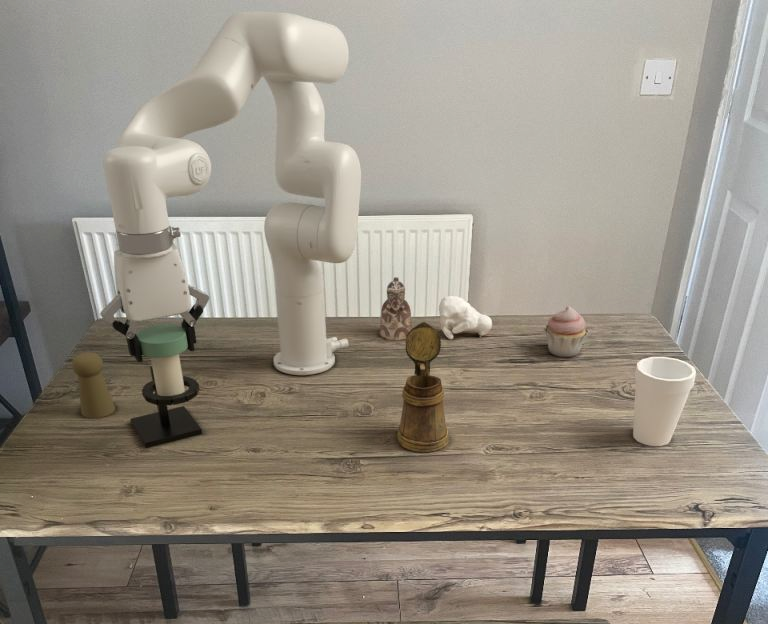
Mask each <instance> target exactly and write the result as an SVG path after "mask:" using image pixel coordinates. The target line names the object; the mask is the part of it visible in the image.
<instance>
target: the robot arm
mask: <svg viewBox="0 0 768 624" xmlns="http://www.w3.org/2000/svg"><path fill="white" fill-rule="evenodd" d="M349 61H350V50H349V45H348V41H347V39H346V37H345V34H344V33H343V32H342V30H341V29H340V28H339V27H337V26H336V25H334V24H332V23H329V22H324V21H322V20H316V19H314V18H309V17H307V16H303V15H300V14H295V13H291V12H282V11H255V10H254V11H252V10H251V11H250V10H249V11H248V10H246V11H238V12H235V13H234V14H231V15H230V16H229V17H228V18H227V19H226V20H225V22H224V23H223V25H222V26H221V27H220V29H219V31H218V32H217V34H216V35H215V37H214V38H213V40H212V41H211V43H210V44H209V46H208V48H207V49H206V51H205V52H204V54H203V55H202V57H201V58H200V60H199V61H198V62H197V64H196V66H195V67H194V69H193V70H192V72H191V73H190V74H188V75H187V76H186V77H184V78H182V79H180V80H179V81H176V82H175V83H173V84H172V85H170V86H169V87H167V88H166V89H164V90H163V91H161V92H159V93H158V94H157V95H155V96H153V97H152V98H150V99H149V100H148V101H147V102H145V103H144V104H143V105H142V106H141V107H140V108H139V109H138V110H137V111H136V112H135V114H134V115H133V116H132V118H131V120H130V121H129V122H128V124H127V125H126V127H125V128H124V130H123V132H122V133H121V135H120V137H119V139H118V141H117V144H116V147H115V148H111V149H109V150H107V151H106V152H105V154H103V158H102V164H103V165H102V166H103V172H104V176H105V177H104V178H105V181H106V186H107V192H108V197H109V202H110V207H111V212H112V217H113V223H114V228H115V233H116V238H117V243H118V249H117V250H115V251H113V268H114V280H115V288H116V296H114V298H113V299H112V300H111V301H110V302H108V304H106V306H105V307H104V308H103V309H102V310H100V313H99V316H101V318H102V319H103V321H105V322H106V323H107V324H108V325H110V326H111V327H112V328H113V329H114V330H116V331H117V332H118V333H120V334H121V335H122V336H125V339H126V344H127V347H128V353H129V356H130V357H134V359H135V360H136V361H137V363H142V362H143V361H144V359H143V355H142V353H141V348H140V342H139V338H138V337H137V336H136V334H137V330H138V327H139V325H140V323H141V322H147V321H152V320H157V319H163V318H168V317H173V316H178V315H180V316H181V318H182V321H181V323H180V325H181V326H180V327H182V328H184V329H185V331H186V336H187V342H188V347H187V349H188V351H189V352H195V349H196V348H195V344H197V336H196V330H195V327H196V325H197V322H198V320H199V319H200V318H201V316H202V315H203V313H204V310H205V308H206V306H207V305H208V303H209V300H210V296H209V294H207V293H206V292H204V291H203V290H200V289H198V288H197V287H195V286H194V285H193V286H192V285H191V284H189V283H188V280H187V276H186V271H185V267H184V265H183V261H182V258H181V254H180V252H179V249H178V247H177V245H176V244H175V243H174V239H177V238H179V237H181V230H180V228H179V227H174V226H171V225H170V222H169V221H170V220H169V215H168V208H167V201H166V200H167V199H168V198H175V197H186V196H191V195H194V194H197V193H198V192H200V191H202V190H203V189H204V188H205V187H206V186H207V184H208V183H209V180H210V178H211V174H212V163H211V158H210V157H209V154H208V153H207V151H206V150H205V148H204V147H202V146H201V145H200V144H199V143H197V142H195V141H193V140H190V139H186V138H184V137H185V136H188V135H190V134H193V133H196V132H199V131H204V130H208V129H211V128H215V127H218V126H220V125H223V124H225V123H228V122H230V121H232V120H233V119H235V118H236V117H237V116H238V115H239V114H240V112H241V111H242V109H243V107H244V106H245V104H246V103H247V101H248V99H249V98H250V96H251V94H252V92H253V91H254V90H255V88H256V86H257V85H258V83H259V81H260V80H261V79H262V77H263V79H264V80H265V82H266V83H267V85H268V87H269V89H270V91H271V93H272V96H273V99H274V102H275V107H276V138H275V165H274V166H275V180H276V184H277V185H278V187H279V189H281V190H282V191H283V192H285V193H288V194H290V195H294V196H295V195H296V196H302V197H308V198H316V199H324V203H325V206H320V205H314V204H307V203H299V202H280V203H278V204H276V205H274V206H272V207H271V208H270V209H269V210H268V212H267V214H266V216H265V219H264V225H263V228H264V232H263V233H264V238H265V241H266V246H267V249H268V252H269V256H270V261H271V265H272V270H273V271H272V273H273V281H274V294H275V304H276V316H277V328H278V341H279V351H278V352H277V353H276V354H275V355H274V356H273V360H272V361H273V366H274V368H275V369H276V370H277V371H279V372H282V373H284V374H288V375H292V376H311V375H316V374H320V373H323V372H326V371H329V369H331V368H332V367H333V366H334V365H335V363H336V357H335V354H334V353H335V352H336V351H337V350H343V349H348V348H349V340H348V338H342V339H338V338H337V336H333V337H329V338H328V337H327V326H326V325H327V324H326V304H325V284H324V283H325V282H324V277H323V272H322V269H321V267H320V264H319V263H318V262H322V263H330V264H342V263H345V262H347V261H348V260H349V259H350V258H351V256H352V255H353V253H354V250H355V248H356V244H357V237H358V228H359V214H360V213H359V212H360V201H361V190H362V167H361V163H360V158H359V156H358V154H357V152H356V151H355V149H354V148H353V147H352V146H350V145H349V144H346V143H343V142H337V141H329V140H328V141H326V140H325V128H326V123H325V122H326V111H325V106H324V102H323V99H322V97H321V94H320V92H319V90H318V89H317V87H316V85H315V84H324V85H325V84H326V85H329V84H334V83H336V82H338V81H340V79H341V78H342V77H343V76H344V74H345V73H346V71H347V69H348V66H349V65H348V64H349ZM191 297H193V298H195V303H194V304H193V305H192V301H191ZM119 310H120V312H121V313H123V314H125V319H124V322H122V321H121V320H119V319H117V318H116V317H115V314H116V313H117V312H118V311H119Z"/></svg>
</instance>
